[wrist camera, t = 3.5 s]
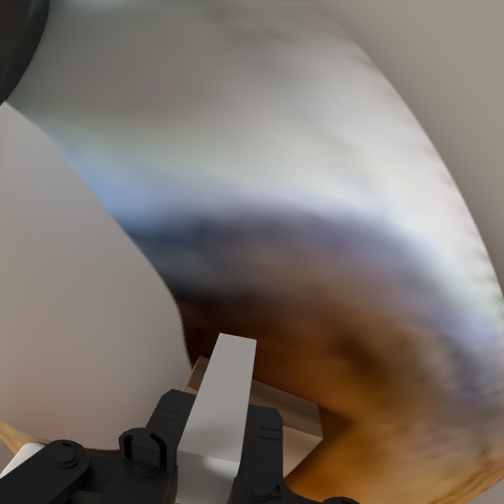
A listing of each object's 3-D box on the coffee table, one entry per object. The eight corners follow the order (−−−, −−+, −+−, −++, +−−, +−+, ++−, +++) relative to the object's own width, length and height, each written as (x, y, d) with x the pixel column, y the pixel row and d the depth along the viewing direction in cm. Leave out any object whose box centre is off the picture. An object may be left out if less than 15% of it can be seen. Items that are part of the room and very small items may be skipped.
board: (201, 352, 21) (187, 386, 17) (317, 400, 21) (323, 438, 17) (145, 461, 24) (132, 491, 20) (231, 495, 24) (227, 525, 20)
